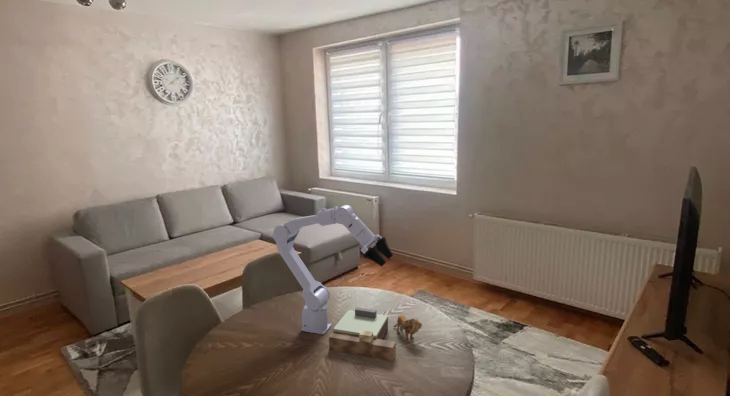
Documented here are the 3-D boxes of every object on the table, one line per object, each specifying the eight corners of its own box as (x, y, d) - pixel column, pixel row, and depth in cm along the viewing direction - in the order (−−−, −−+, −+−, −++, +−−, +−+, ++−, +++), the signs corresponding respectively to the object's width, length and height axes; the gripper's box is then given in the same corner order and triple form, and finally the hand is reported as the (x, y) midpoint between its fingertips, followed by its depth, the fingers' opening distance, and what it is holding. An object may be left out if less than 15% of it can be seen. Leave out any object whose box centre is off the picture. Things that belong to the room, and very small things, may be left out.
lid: (333, 331, 150) (333, 322, 150) (348, 312, 165) (348, 303, 165) (376, 338, 145) (376, 329, 145) (387, 317, 160) (388, 309, 160)
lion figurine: (423, 342, 153) (424, 319, 151) (412, 346, 150) (413, 323, 148) (398, 325, 165) (399, 304, 163) (387, 329, 162) (388, 307, 160)
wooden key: (359, 341, 144) (359, 334, 143) (362, 336, 147) (361, 330, 146) (370, 342, 142) (370, 336, 142) (372, 338, 145) (372, 331, 145)
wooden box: (329, 350, 148) (329, 336, 147) (348, 324, 166) (348, 312, 165) (392, 361, 141) (392, 347, 140) (405, 333, 159) (405, 320, 158)
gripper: (360, 231, 141) (388, 261, 140) (375, 220, 154) (401, 247, 153) (347, 244, 144) (374, 273, 142) (363, 232, 157) (388, 258, 156)
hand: (387, 260), depth 148 cm, fingers open, 7 cm apart
